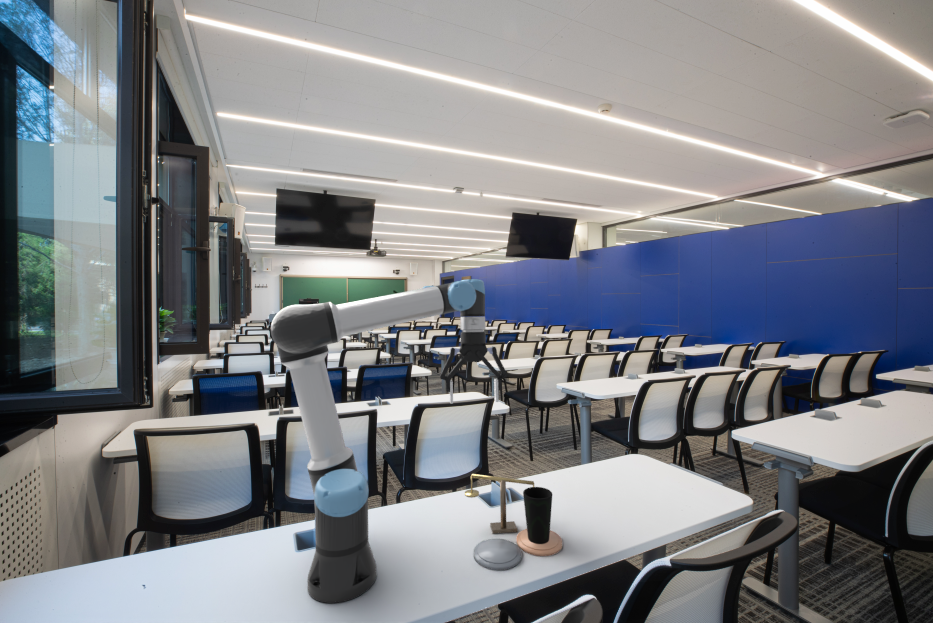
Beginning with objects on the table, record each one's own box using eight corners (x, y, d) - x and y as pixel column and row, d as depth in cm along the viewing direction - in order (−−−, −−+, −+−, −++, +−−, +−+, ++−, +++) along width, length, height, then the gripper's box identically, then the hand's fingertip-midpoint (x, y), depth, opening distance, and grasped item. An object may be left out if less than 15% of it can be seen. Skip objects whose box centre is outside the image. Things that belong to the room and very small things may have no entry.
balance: (466, 535, 110) (465, 477, 111) (464, 528, 114) (463, 471, 115) (543, 530, 113) (542, 472, 113) (539, 522, 117) (538, 467, 117)
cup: (553, 547, 102) (552, 500, 102) (523, 545, 103) (522, 498, 104) (552, 531, 110) (551, 487, 110) (524, 529, 111) (523, 485, 111)
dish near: (476, 572, 95) (476, 566, 95) (471, 543, 107) (470, 539, 107) (526, 567, 96) (526, 562, 96) (515, 540, 108) (515, 535, 108)
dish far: (522, 558, 100) (522, 553, 100) (512, 532, 112) (512, 528, 112) (569, 554, 101) (569, 549, 101) (553, 529, 113) (553, 525, 113)
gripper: (431, 332, 116) (432, 406, 115) (516, 330, 118) (517, 402, 118) (431, 331, 123) (432, 400, 123) (511, 329, 126) (512, 397, 125)
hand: (474, 402), depth 120 cm, fingers open, 13 cm apart
